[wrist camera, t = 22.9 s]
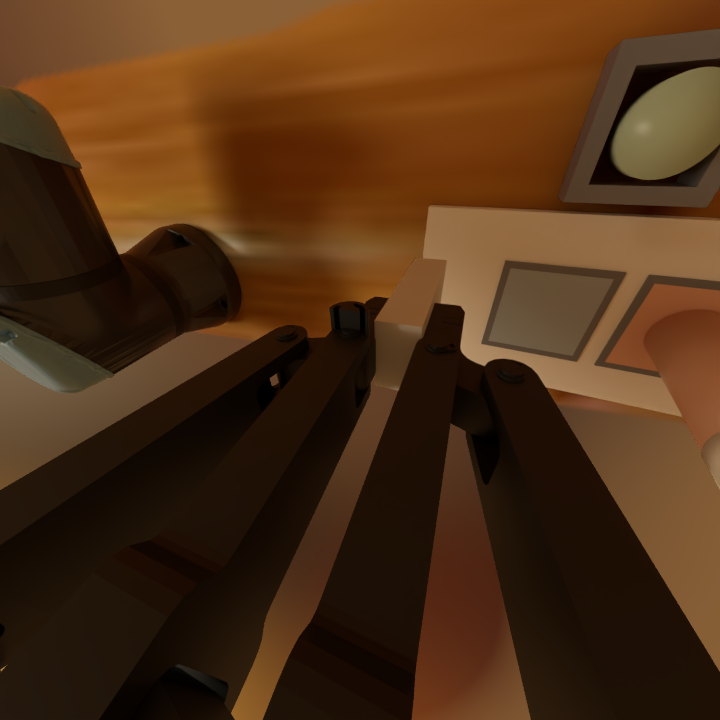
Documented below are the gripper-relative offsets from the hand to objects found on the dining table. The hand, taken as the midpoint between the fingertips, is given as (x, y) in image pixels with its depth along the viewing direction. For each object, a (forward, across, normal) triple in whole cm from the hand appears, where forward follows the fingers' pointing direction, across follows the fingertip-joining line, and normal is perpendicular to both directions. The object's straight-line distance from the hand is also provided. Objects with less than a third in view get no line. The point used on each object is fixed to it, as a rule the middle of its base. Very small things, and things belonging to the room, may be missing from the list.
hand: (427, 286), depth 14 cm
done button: (+14, +12, +6) cm, 19 cm away
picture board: (+16, +11, -8) cm, 21 cm away
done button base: (+16, +12, +6) cm, 21 cm away
